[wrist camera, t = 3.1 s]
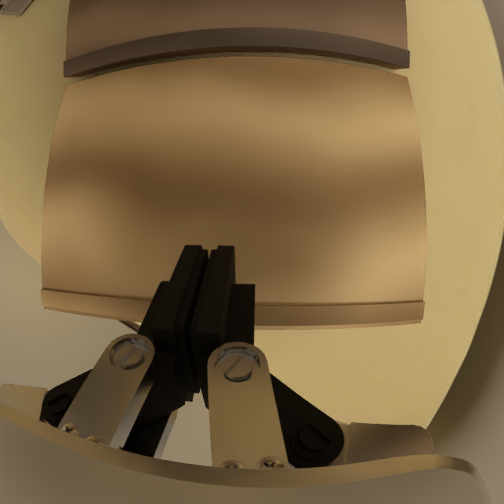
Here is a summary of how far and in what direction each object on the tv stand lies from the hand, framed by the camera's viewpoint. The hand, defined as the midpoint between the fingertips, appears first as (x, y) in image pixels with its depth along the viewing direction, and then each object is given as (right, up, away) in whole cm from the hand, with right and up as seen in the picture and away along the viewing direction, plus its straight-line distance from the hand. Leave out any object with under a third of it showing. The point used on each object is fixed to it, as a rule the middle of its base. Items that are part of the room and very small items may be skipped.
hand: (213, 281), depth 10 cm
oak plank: (0, +4, +2) cm, 5 cm away
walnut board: (0, +15, 0) cm, 15 cm away
